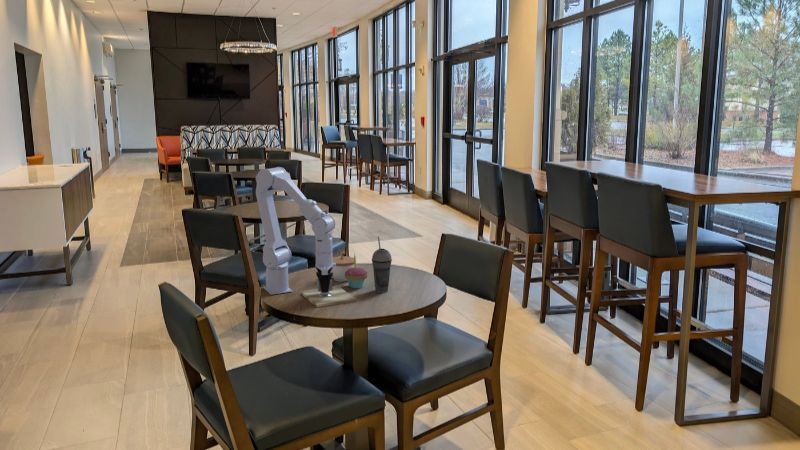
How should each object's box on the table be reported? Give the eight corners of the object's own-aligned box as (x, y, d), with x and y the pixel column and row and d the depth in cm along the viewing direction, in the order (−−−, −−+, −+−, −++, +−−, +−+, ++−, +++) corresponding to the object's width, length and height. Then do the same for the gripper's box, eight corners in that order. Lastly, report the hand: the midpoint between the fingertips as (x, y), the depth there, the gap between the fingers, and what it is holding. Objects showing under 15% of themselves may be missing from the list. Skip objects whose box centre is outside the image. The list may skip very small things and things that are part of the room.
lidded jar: (354, 283, 221) (354, 259, 219) (326, 283, 221) (325, 258, 219) (357, 275, 231) (357, 252, 229) (330, 275, 231) (329, 252, 230)
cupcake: (342, 284, 220) (341, 253, 217) (363, 282, 222) (363, 251, 220) (348, 291, 212) (348, 258, 209) (370, 288, 215) (370, 256, 212)
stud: (316, 294, 205) (316, 289, 204) (328, 292, 207) (328, 288, 206) (321, 297, 201) (321, 293, 201) (333, 295, 203) (333, 291, 203)
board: (301, 294, 208) (301, 291, 208) (338, 288, 214) (338, 286, 214) (317, 307, 194) (317, 304, 194) (356, 301, 200) (356, 298, 200)
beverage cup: (389, 294, 208) (389, 239, 204) (369, 293, 209) (369, 238, 205) (393, 288, 215) (394, 235, 211) (374, 287, 216) (374, 234, 212)
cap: (314, 290, 203) (313, 279, 202) (325, 286, 207) (325, 276, 206) (323, 292, 200) (323, 282, 199) (335, 289, 204) (335, 278, 203)
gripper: (336, 256, 194) (337, 295, 197) (335, 246, 208) (335, 282, 211) (315, 256, 193) (315, 296, 196) (315, 246, 207) (315, 283, 210)
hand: (324, 289), depth 203 cm, fingers closed on cap, 5 cm apart
